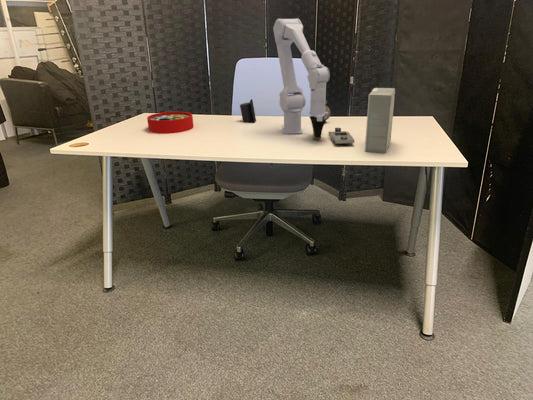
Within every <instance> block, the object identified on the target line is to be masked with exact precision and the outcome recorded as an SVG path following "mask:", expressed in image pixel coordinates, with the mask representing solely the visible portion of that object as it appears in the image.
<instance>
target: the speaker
mask: <svg viewBox="0 0 533 400" xmlns="http://www.w3.org/2000/svg"><path fill="white" fill-rule="evenodd" d="M239 108H240V113H241V119H242V122H243V123H248V122H252V121H253V124H255V123H256V121H257V118H256V117H257V116H256V111H255V107H254V102H253V99H250V100H249V102H244V103H241V104H239Z"/></svg>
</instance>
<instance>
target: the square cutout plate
mask: <svg viewBox="0 0 533 400" xmlns="http://www.w3.org/2000/svg"><path fill="white" fill-rule="evenodd" d="M327 133H328V137H329V138H330V140H331V142H332V144H333V143H334V144H339V145H340V146H341V147H345V146H346V147H347V146H348V144H355V138H354V137H353V136H352V135H351V133H350V132H349V131H345V130H343V131H342V128H341V127H334V131H328V132H327Z"/></svg>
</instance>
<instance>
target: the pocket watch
mask: <svg viewBox="0 0 533 400" xmlns="http://www.w3.org/2000/svg"><path fill="white" fill-rule="evenodd" d="M326 104H327V102H326V103H325V112H328V114H326V115H324V118H323V120H326V122H325V124H326V123H327V121H328V119H330V117H331V110H330V107H328V106H327V105H326Z"/></svg>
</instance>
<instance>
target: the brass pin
mask: <svg viewBox="0 0 533 400" xmlns="http://www.w3.org/2000/svg"><path fill="white" fill-rule="evenodd" d="M312 140H313V141H321V140H322V136H321V137H315V135H314V128H313V127H312Z"/></svg>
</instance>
